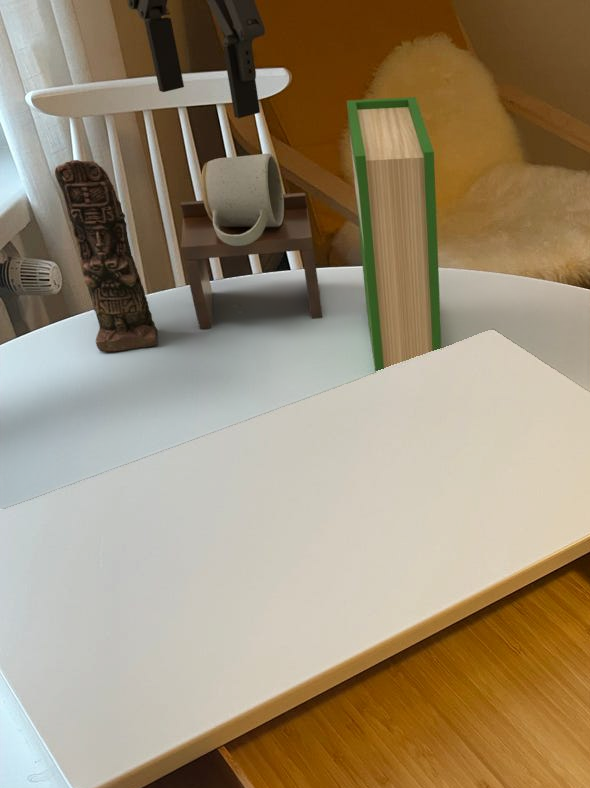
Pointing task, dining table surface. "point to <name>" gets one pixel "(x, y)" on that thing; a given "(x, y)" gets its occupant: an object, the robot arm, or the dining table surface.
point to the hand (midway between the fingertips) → (208, 102)
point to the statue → (106, 257)
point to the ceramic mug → (243, 195)
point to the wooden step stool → (244, 249)
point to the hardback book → (396, 227)
